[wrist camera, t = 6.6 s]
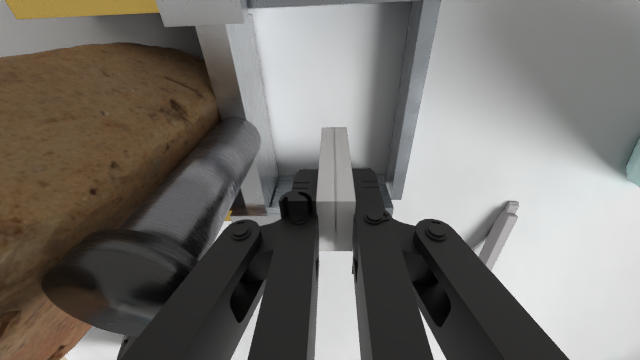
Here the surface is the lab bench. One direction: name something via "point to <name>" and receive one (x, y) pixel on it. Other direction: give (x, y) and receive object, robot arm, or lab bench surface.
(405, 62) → the bay
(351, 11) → the lab bench surface
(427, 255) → the robot arm
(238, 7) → the bar
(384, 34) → the lab bench surface
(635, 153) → the water bottle
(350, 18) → the lab bench surface
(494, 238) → the caliper
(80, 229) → the brown stone
